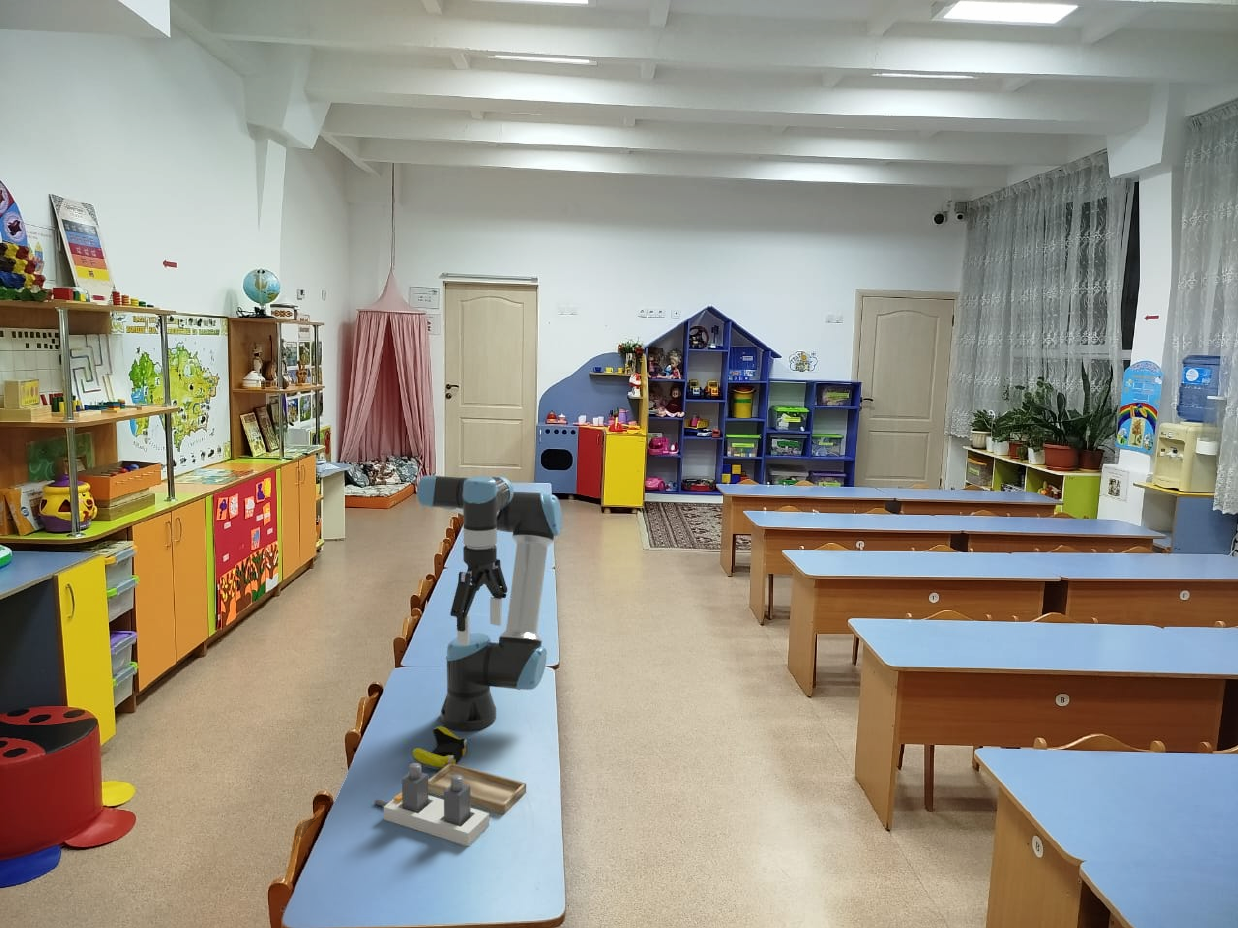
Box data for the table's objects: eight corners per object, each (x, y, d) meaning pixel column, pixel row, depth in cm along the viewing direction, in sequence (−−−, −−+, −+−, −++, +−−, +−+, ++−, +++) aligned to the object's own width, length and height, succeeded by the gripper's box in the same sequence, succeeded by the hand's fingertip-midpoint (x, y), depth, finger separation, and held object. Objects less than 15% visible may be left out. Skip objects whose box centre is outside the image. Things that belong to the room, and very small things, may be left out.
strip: (387, 794, 192) (386, 779, 191) (489, 825, 181) (489, 809, 180) (363, 812, 185) (363, 796, 184) (468, 846, 174) (468, 829, 173)
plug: (470, 824, 181) (470, 775, 179) (459, 834, 177) (459, 784, 175) (454, 819, 182) (454, 771, 180) (444, 829, 178) (443, 780, 177)
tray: (450, 770, 203) (450, 762, 202) (526, 792, 194) (526, 783, 194) (425, 791, 194) (425, 782, 193) (503, 814, 185) (503, 805, 185)
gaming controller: (409, 772, 202) (447, 778, 200) (409, 751, 201) (447, 756, 199) (436, 742, 216) (472, 748, 214) (436, 722, 215) (472, 728, 213)
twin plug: (413, 806, 186) (413, 759, 184) (428, 811, 185) (428, 763, 183) (402, 816, 183) (401, 768, 181) (417, 821, 181) (416, 772, 179)
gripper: (495, 531, 202) (495, 614, 206) (433, 556, 180) (434, 649, 183) (522, 535, 199) (521, 619, 203) (462, 560, 177) (463, 655, 180)
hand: (480, 633), depth 193 cm, fingers open, 13 cm apart
